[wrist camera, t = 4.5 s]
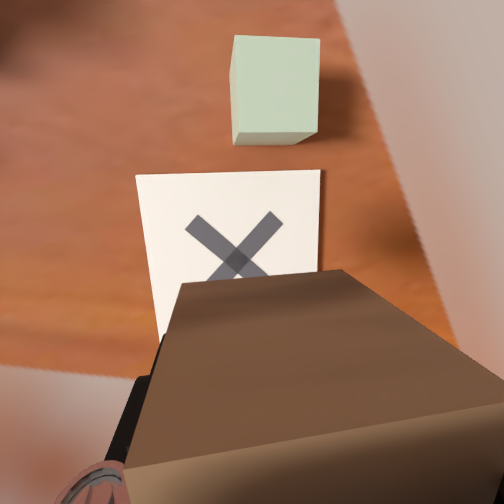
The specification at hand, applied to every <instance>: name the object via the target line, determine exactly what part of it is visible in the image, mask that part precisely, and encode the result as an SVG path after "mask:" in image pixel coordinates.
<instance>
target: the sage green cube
mask: <svg viewBox="0 0 504 504" xmlns="http://www.w3.org/2000/svg"><path fill="white" fill-rule="evenodd" d="M319 59H320V39H312V38H290V37H268V36H246V35H235V37H234V44H233V52H232V59H231V66H230V74H229V75H230V95H231V115H232V134H233V146H259V145H295V144H296V143H298V142H300V141H302V140H304V139H306V138H307V137H309V136H311V135H313V134H315V133H316V132H317V130H318V95H319Z"/></svg>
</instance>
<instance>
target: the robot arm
mask: <svg viewBox="0 0 504 504" xmlns="http://www.w3.org/2000/svg"><path fill="white" fill-rule="evenodd" d="M165 334H166V333H165ZM165 334H163V336H162V339H161V342H160V345H159V348H158V351H157V354H156V357H155V360H154V363H153V366H152V369H151V372H150V375H146V376H139V377H138V378H137V379H136V381H135V383H134V386H133V388H132V391H131V393H130V396H129V398H128V401H127V404H126V406H125V409H124V411H123V414H122V417H121V419H120V421H119V424H118V426H117V429H116V431H115V434H114V437H113V439H112V442H111V444H110V447H109V449H108V452H107V454H106V457H105V459H104V461H102V462H99V463H96V464H94V465H91V466H90V467H88V468H87V469H85V470H83V471H82V472H80V473H79V474H78V475H77V476H76V477H74V478H73V479H72V480H71V481H70V482H69V483H68V484H67V485H66V486H65V488H64V489H63V490H62V491H61V492H60V494H59V495H58V496H57V498H56V500H55V502H54V504H131V502H130V498H129V494H128V490H127V486H126V482H125V477H124V473H123V467H124V464H125V461H126V458H127V455H128V451H129V448H130V445H131V442H132V439H133V436H134V432H135V429H136V426H137V423H138V420H139V417H140V413H141V410H142V407H143V404H144V401H145V398H146V394H147V391H148V388H149V385H150V382H151V379H152V375H153V372H154V369H155V366H156V363H157V360H158V356H159V353H160V350H161V347H162V344H163V341H164V337H165ZM493 504H504V473H503V476H502V479H501V482H500V485H499V488H498V491H497V494H496V497H495V500H494V503H493Z"/></svg>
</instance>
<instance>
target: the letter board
mask: <svg viewBox="0 0 504 504" xmlns="http://www.w3.org/2000/svg"><path fill="white" fill-rule="evenodd" d="M135 176H136V183H137V189H138V196H139V203H140V210H141V217H142V223H143V230H144V237H145V244H146V251H147V257H148V264H149V271H150V278H151V285H152V291H153V298H154V305H155V312H156V319H157V326H158V332H159V339H160V342H161V339H162V336H163V334H165V333H166V331H167V328H168V325H169V322H170V318H171V315H172V312H173V309H174V306H175V303H176V299H177V296H178V293H179V290H180V287H181V284H182V283H189V282H200V281H212V280H224V279H235V278H247V277H259V276H271V275H282V274H294V273H306V272H317V258H318V227H319V195H320V170H292V171H257V172H222V173H187V174H152V175H135Z"/></svg>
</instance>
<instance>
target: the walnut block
mask: <svg viewBox="0 0 504 504" xmlns="http://www.w3.org/2000/svg"><path fill="white" fill-rule="evenodd" d="M123 473H124V477H125V482H126V486H127V490H128V494H129V498H130V502H131V504H493V503H494V500H495V497H496V494H497V491H498V488H499V485H500V482H501V479H502V476H503V473H504V380H502V379H501V378H499V377H498V376H497V375H495V374H494V373H492V372H490V371H489V370H488V369H486V368H485V367H483V366H482V365H480V364H479V363H478V362H476V361H475V360H473V359H472V358H470V357H469V356H467V355H466V354H464V353H463V352H461V351H460V350H459V349H457V348H456V347H454V346H453V345H451V344H450V343H448V342H447V341H445V340H444V339H442V338H441V337H439V336H438V335H437V334H435V333H434V332H432V331H431V330H429V329H428V328H426V327H425V326H423V325H422V324H420V323H419V322H418V321H416V320H415V319H413V318H412V317H410V316H409V315H407V314H406V313H404V312H403V311H401V310H400V309H399V308H397V307H396V306H394V305H393V304H391V303H390V302H388V301H387V300H385V299H384V298H382V297H381V296H379V295H378V294H377V293H375V292H374V291H372V290H371V289H369V288H368V287H366V286H365V285H363V284H362V283H360V282H359V281H358V280H356V279H355V278H353V277H352V276H350V275H349V274H347V273H346V272H344V271H343V270H329V271H317V272H306V273H294V274H282V275H271V276H259V277H247V278H235V279H224V280H212V281H200V282H189V283H182V284H181V287H180V290H179V293H178V296H177V299H176V303H175V306H174V309H173V312H172V315H171V318H170V322H169V325H168V328H167V331H166V334H165V337H164V341H163V344H162V347H161V350H160V353H159V356H158V360H157V363H156V366H155V369H154V372H153V375H152V379H151V382H150V385H149V388H148V391H147V394H146V398H145V401H144V404H143V407H142V410H141V413H140V417H139V420H138V423H137V426H136V429H135V432H134V436H133V439H132V442H131V445H130V448H129V451H128V455H127V458H126V461H125V464H124V467H123Z"/></svg>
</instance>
